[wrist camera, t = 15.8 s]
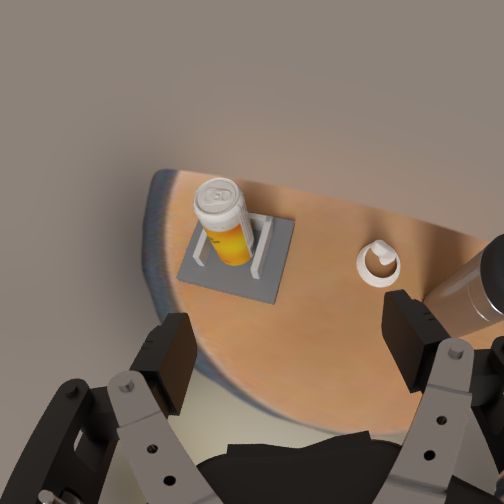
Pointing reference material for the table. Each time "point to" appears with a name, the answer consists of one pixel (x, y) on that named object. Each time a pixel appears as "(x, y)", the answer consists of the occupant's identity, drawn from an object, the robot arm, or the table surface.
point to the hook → (385, 257)
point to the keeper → (246, 275)
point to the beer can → (225, 220)
